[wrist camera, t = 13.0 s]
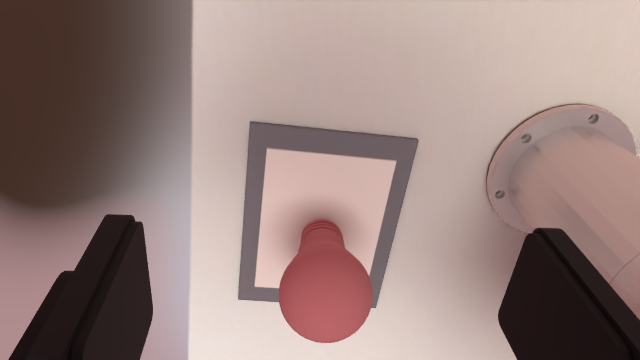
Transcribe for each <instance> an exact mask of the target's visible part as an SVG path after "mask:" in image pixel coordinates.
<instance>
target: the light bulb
mask: <svg viewBox="0 0 640 360" xmlns="http://www.w3.org/2000/svg"><path fill="white" fill-rule="evenodd" d="M372 297H373V292H372V284H371V281H370V278H369V275H368V273H367V271H366V269H365V268H364V266H363V265H362V264H361V262H360V261H359V260H358V259H357V258H356V257H355V256H353V255H352V254H351V253H350V252H349V251H348V250H346V249H345V246H344V240H343V235H342V233H341V231H340V229H339V227H338V226H337V225H336V224H335V223H333V222H331V221H328V220H315V221H313V222H310V223H309V224H307V225H306V226H305V227H304V229H303V231H302V235H301V245H300V247H299V250H298V254H297V255H296V256H295V257H294V258H293V260H292V261H291V262H290V264H289V265H288V266H287V268H286V269H285V271H284V273H283V276H282V278H281V281H280V286H279V303H280V307H281V311H282V313H283V316H284V318H285V319H286V321H287V323H288V324H289V325H290V326H291V328H292V329H293V330H294V331H295V332H297V333H298V334H299V335H301V336H302V337H304V338H306V339H309V340H311V341H315V342H320V343H332V342H337V341H340V340H343V339H345V338H347V337H349V336H351V335H352V334H354V333H355V332H356V331H357V330H358V329H359V328H360V327H361V326H362V325H363V323H364V322H365V320H366V318H367V317H368V315H369V312H370V309H371V305H372Z"/></svg>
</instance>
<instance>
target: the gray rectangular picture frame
mask: <svg viewBox="0 0 640 360" xmlns="http://www.w3.org/2000/svg"><path fill="white" fill-rule="evenodd" d="M417 145H418V139H415V138H405V137H396V136H386V135H376V134H367V133H357V132H347V131H337V130H328V129H318V128H308V127H299V126H289V125H279V124H269V123H260V122H250V133H249V148H248V163H247V177H246V192H245V207H244V221H243V236H242V250H241V265H240V280H239V294H238V300H253V301H269V302H279V286H280V281H281V278H282V276H283V273H284V271H285V269H286V268H287V266H288V265H289V264H290V262H291V261H292V260H293V258H294V257H295V256H296V255H297V254H298V250H299V247H300V245H301V235H302V231H303V229H304V227H305V226H306V225H307V224H309V223H310V222H313V221H315V220H328V221H331V222H333V223H335V224H336V225H337V226H338V227H339V229H340V231H341V233H342V235H343V240H344V246H345V249H346V250H348V251H349V252H350V253H351V254H352V255H353V256H355V257H356V258H357V259H358V260H359V261H360V262H361V264H362V265H363V266H364V268H365V269H366V271H367V273H368V275H369V278H370V281H371V284H372V292H373V297H372V305H371V308H376V305H377V301H378V297H379V293H380V289H381V285H382V281H383V278H384V274H385V270H386V266H387V262H388V258H389V254H390V250H391V246H392V242H393V238H394V235H395V231H396V227H397V223H398V219H399V215H400V211H401V207H402V203H403V199H404V195H405V192H406V188H407V184H408V180H409V176H410V172H411V168H412V164H413V160H414V156H415V153H416V149H417Z"/></svg>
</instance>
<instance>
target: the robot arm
mask: <svg viewBox="0 0 640 360" xmlns="http://www.w3.org/2000/svg"><path fill="white" fill-rule="evenodd" d="M487 191H488V196H489V200H490V202H491V204H492V206H493V208H494V210H495V211H496V212H497V214H498V215H499V217H500V218H501V219H502V220H503V221H504V222H505V223H507V224H508V225H509V226H511V227H513V228H515V229H516V230H518V231H522V232H525V233H528V235H527V236H526V238H525V240H524V243H523V246H522V249H521V251H520V254H519V257H518V260H517V262H516V265H515V268H514V271H513V273H512V276H511V279H510V282H509V284H508V287H507V290H506V293H505V295H504V298H503V301H502V304H501V306H500V309H499V313H498V320H499V324H500V327H501V329H502V331H503V333H504V334H505V336H506V338H507V340H508V342H509V344H510V346H511V348H512V350H513V352H514V354H515V356H516V358H517V360H640V159H638V158H637V157H636V146H635V143H634V139H633V136H632V134H631V133H630V131H629V129H628V128H627V126H626V125H625V124H624V123H623V122H622V121H621V120H620V119H618V118H617V117H616V116H614V115H612V114H611V113H609V112H608V111H605V110H603V109H600V108H598V107H595V106H589V105H582V104H581V105H565V106H561V107H556V108H552V109H550V110H547V111H544V112H542V113H539V114H537V115H536V116H534V117H532V118H530V119H529V120H527V121H525V122H524V123H523V124H521V125H520V126H519V127H518V128H516V129H515V130H514V131H513V132H512V133H511V134H510V135H509V136H508V137H507V138H506V139H505V140H504V141H503V143H502V144H501V146H500V147H499V149H498V150H497V152H496V153H495V155H494V157H493V160H492V162H491V164H490V167H489V172H488V176H487ZM152 315H153V304H152V295H151V287H150V279H149V271H148V262H147V254H146V245H145V238H144V229H143V224H142V222H136V221H135V219H134V217H133V216H132V215H111V214H110V215H109V214H108V215H106V216H105V217H104V219H103V220H102V222H101V224H100V226H99V227H98V229H97V231H96V233H95V235H94V236H93V238H92V240H91V242H90V244H89V245H88V247H87V249H86V251H85V252H84V254H83V256H82V258H81V259H80V261H79V263H78V265H77V266H76V268H75V270H74V271H64V272H62V273H61V274H60V275H59V277H58V278H57V279H56V281H55V282H54V284H53V286H52V287H51V289H50V291H49V293H48V294H47V296H46V298H45V299H44V301H43V303H42V304H41V306H40V308H39V309H38V311H37V313H36V314H35V316H34V318H33V319H32V321H31V323H30V324H29V326H28V328H27V329H26V331H25V333H24V334H23V336H22V338H21V339H20V341H19V343H18V344H17V346H16V348H15V350H14V351H13V353H12V355H11V356H10V358H9V360H140V357H141V353H142V351H143V347H144V344H145V341H146V338H147V335H148V331H149V328H150V325H151V321H152Z"/></svg>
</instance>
